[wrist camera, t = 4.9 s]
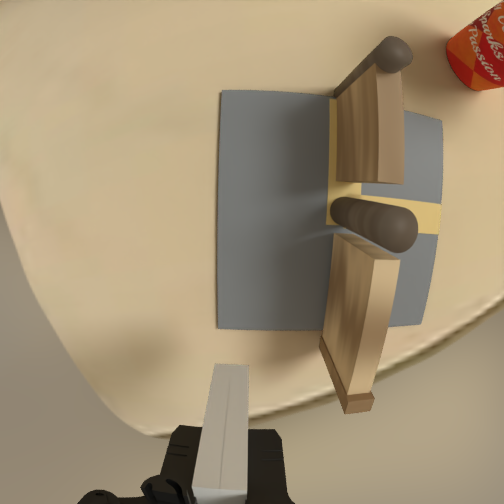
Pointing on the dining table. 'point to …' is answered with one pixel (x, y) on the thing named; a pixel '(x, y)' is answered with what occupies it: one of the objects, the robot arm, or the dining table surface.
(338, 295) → the hinged fence panel
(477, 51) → the paper cup
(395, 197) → the board
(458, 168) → the dining table surface
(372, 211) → the fixed fence panel and posts
